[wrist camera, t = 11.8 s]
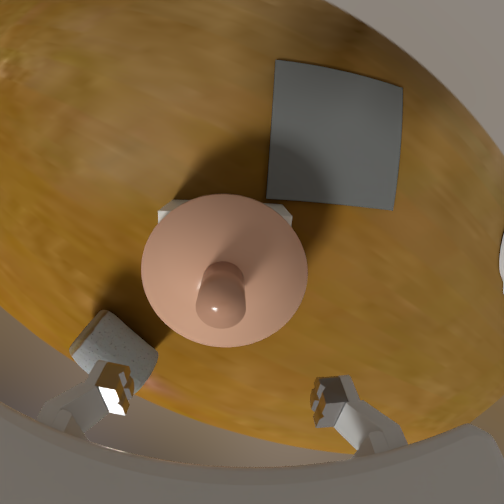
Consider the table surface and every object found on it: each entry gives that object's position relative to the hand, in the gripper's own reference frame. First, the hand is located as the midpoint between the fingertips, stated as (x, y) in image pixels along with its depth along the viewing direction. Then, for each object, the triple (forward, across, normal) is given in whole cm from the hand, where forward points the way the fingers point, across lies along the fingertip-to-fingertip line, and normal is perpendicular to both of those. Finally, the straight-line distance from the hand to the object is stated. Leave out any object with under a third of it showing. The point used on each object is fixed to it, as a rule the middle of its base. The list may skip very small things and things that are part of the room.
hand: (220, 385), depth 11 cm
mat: (+17, -9, -12) cm, 23 cm away
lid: (+12, +1, 0) cm, 12 cm away
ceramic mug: (+16, +14, +13) cm, 25 cm away
